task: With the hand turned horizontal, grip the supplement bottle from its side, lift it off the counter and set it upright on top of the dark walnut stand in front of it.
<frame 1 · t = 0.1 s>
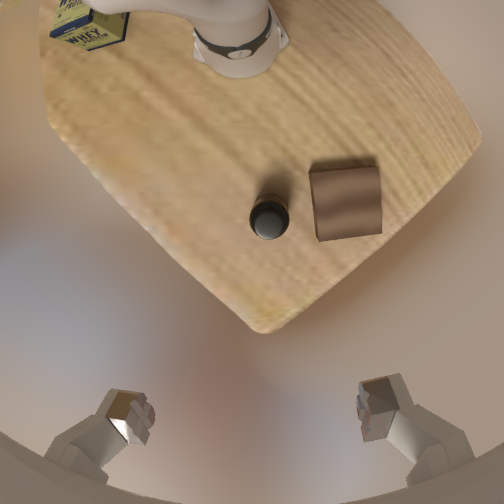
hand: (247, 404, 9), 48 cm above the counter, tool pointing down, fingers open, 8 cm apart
supplement bottle: (269, 209, 55), on the counter
walnut stand: (344, 200, 53), on the counter
protein box: (111, 21, 41), on the counter
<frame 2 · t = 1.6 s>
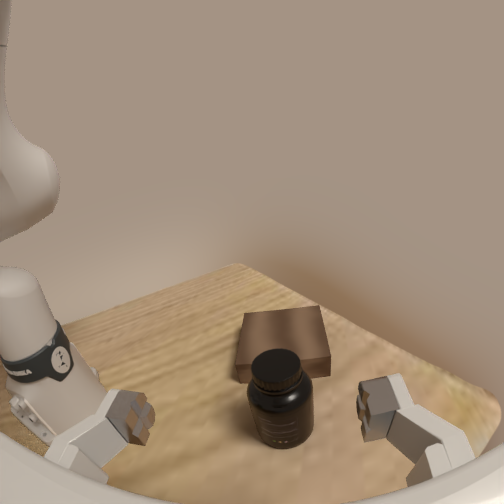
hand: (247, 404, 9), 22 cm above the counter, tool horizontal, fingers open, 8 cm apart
supplement bottle: (285, 429, 29), on the counter
walnut stand: (284, 351, 43), on the counter
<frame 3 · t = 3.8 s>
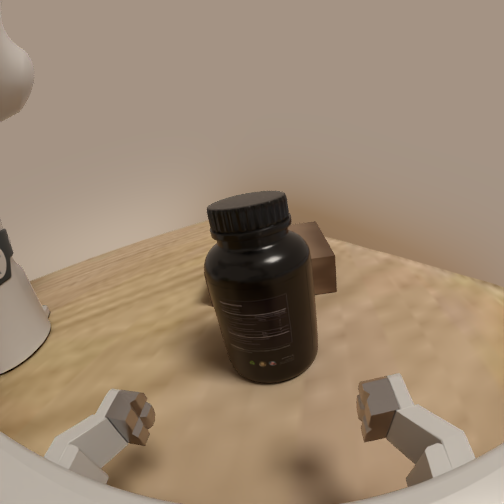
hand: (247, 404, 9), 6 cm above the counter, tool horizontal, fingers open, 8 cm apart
supplement bottle: (274, 356, 21), on the counter
walnut stand: (273, 273, 35), on the counter
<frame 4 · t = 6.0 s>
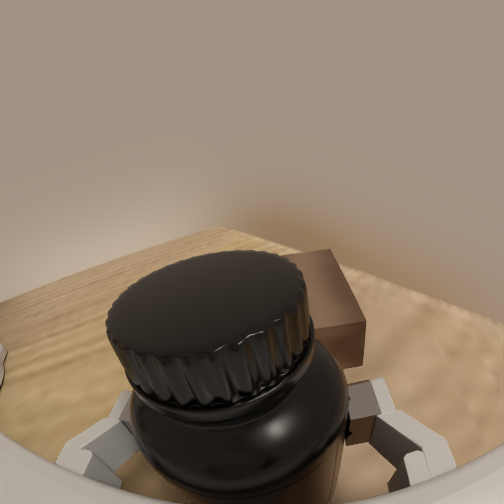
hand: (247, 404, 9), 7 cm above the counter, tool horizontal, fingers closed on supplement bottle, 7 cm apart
supplement bottle: (268, 485, 11), on the counter, touching gripper
walnut stand: (272, 325, 24), on the counter
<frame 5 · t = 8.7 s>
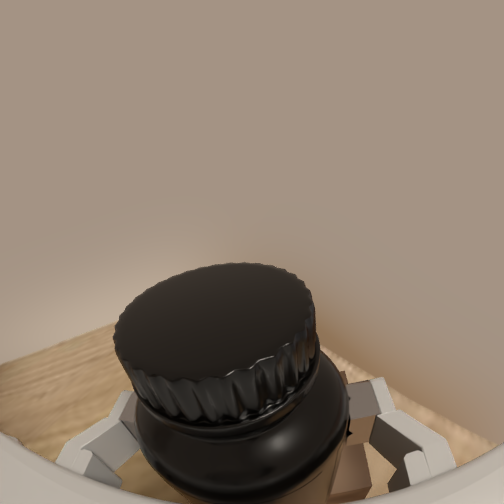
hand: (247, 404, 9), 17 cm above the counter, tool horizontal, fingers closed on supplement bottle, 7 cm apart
supplement bottle: (266, 487, 11), point 10 cm above the counter, touching gripper
walnut stand: (284, 452, 21), on the counter
when the fingers open (11 cm above the counter, at t = 11.2 s): supplement bottle stays where it is, resting on walnut stand.
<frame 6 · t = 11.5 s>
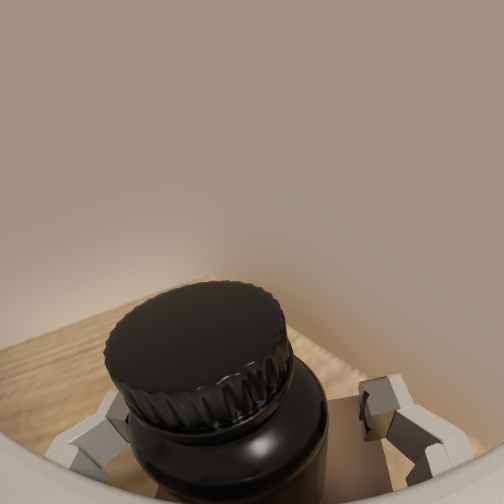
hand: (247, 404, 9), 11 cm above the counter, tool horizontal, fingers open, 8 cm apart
supplement bottle: (260, 490, 11), point 4 cm above the counter, touching walnut stand
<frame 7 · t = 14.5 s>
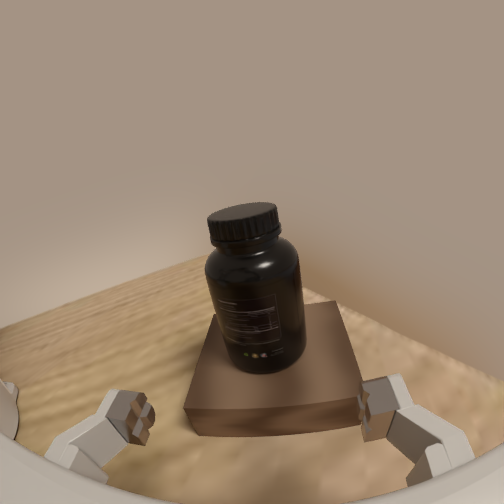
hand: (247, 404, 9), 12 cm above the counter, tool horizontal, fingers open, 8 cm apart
supplement bottle: (267, 350, 23), point 4 cm above the counter, touching walnut stand
walnut stand: (278, 379, 24), on the counter
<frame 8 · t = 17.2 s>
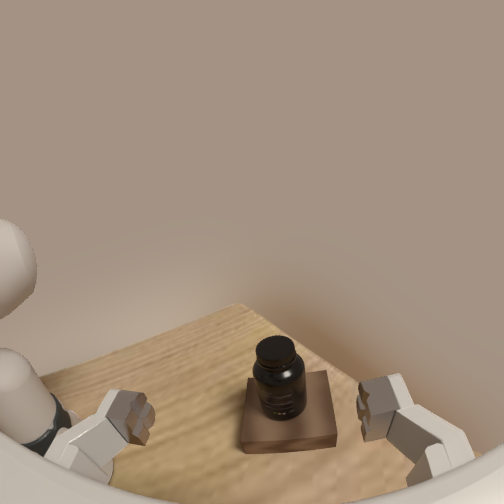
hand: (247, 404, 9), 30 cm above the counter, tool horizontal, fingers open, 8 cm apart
supplement bottle: (284, 405, 37), point 4 cm above the counter, touching walnut stand
walnut stand: (289, 418, 38), on the counter
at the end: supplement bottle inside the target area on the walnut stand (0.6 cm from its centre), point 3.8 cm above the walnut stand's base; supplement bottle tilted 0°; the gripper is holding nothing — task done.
